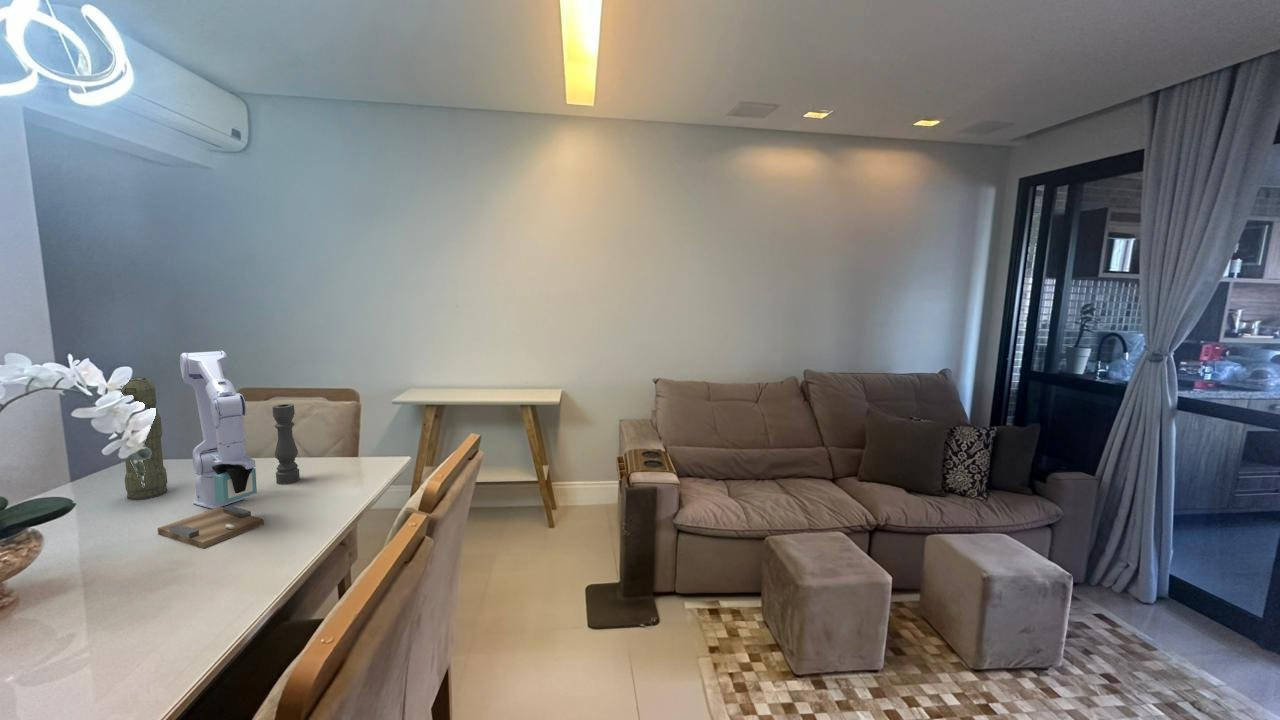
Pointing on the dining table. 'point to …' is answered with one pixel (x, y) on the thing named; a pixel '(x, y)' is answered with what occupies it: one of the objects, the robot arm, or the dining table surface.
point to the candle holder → (285, 445)
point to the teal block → (226, 489)
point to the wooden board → (211, 526)
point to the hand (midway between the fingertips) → (235, 490)
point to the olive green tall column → (153, 466)
